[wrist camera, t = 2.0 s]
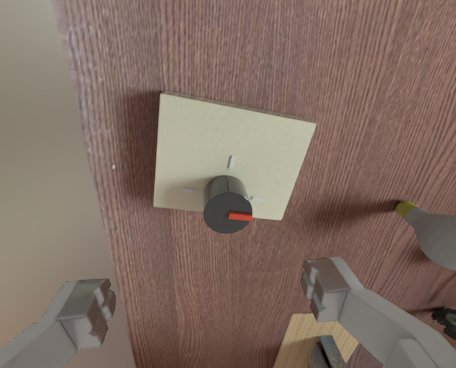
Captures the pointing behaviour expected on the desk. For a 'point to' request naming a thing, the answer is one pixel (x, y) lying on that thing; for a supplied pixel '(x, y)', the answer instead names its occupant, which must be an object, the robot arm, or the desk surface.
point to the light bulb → (432, 233)
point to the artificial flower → (446, 320)
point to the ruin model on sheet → (315, 344)
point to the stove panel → (227, 152)
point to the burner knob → (226, 205)
